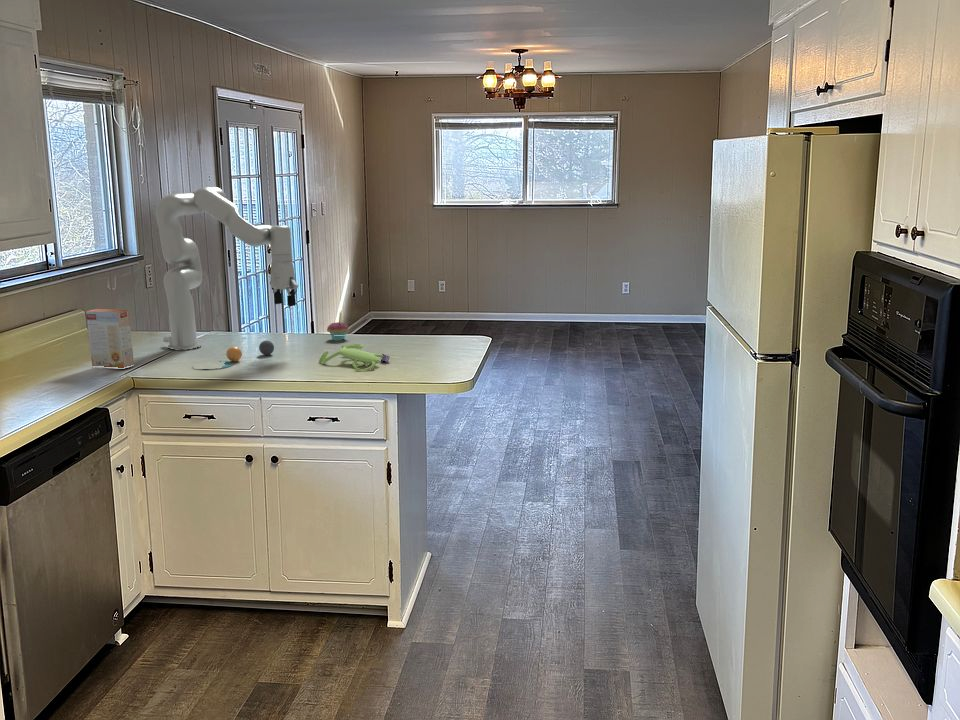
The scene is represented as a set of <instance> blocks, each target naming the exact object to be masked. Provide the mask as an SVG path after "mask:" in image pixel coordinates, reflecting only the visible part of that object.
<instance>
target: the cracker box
mask: <svg viewBox="0 0 960 720" xmlns="http://www.w3.org/2000/svg"><path fill="white" fill-rule="evenodd" d="M85 313H86V323H87V330H88V339H89V348H90V358H91V366H104V367H118V368H124V367H127V366H131V365H133V364H134V365H135V360H134V351H133V350H134V349H133V341H132V331H131V323H130V322H131V321H130V313H129V310H128V309H111V308H109V309H108V308H107V309H105V308H104V309H103V308H94V309H90V310H86V311H85Z"/></svg>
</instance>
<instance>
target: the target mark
mask: <svg viewBox="0 0 960 720" xmlns="http://www.w3.org/2000/svg"><path fill="white" fill-rule="evenodd" d="M222 361H223V362H225V363H224V364H225V365H223V366H222V368H223V369H227V368H229V367H232V366H234V363H233V361H230V360H229V361H228V360H222Z"/></svg>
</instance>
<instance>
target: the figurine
mask: <svg viewBox="0 0 960 720" xmlns="http://www.w3.org/2000/svg"><path fill="white" fill-rule="evenodd" d="M363 348H364V346H363V344H361V343H350V344H343V345H341V348H340V349H338V351H336V352H334V353H333V354H330V355H329V356H328V354H329V351H328V350H327V351H324V353H323V354H322V355H321V356H320V358H319V359H318V363H320V364H322V363H323V364H324V363H327V362H329V361H330V360H332V359H333V358H336V357H337V356H339V355H340V356H342V357H343V358H346V359H349V360H351V361H352V363H351V365H352V367H353V368H354V369H355V371H356V370H370V369H372V370H373V369H374V368H375V367H376V363H379V362H381V361H385V362H384V363H389V360H390V355H387V354H384V353H382V354H381V353H380V354H379V353H378V354H377V353H370V352H368V351H365V350H361V349H363ZM380 360H381V361H380ZM358 362H359V363H361V364H357V363H358ZM371 364H372V365H371ZM368 365H369V366H368ZM362 366H365V367H366V368H360V367H362ZM367 366H368V367H367ZM370 371H371V370H370Z"/></svg>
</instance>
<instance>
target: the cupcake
mask: <svg viewBox="0 0 960 720" xmlns="http://www.w3.org/2000/svg"><path fill="white" fill-rule="evenodd" d="M326 331H327V332H328V333H329V334H330V335H331V339H332V340H333V341H336V342H338V341H343V340H342V339H344V340H345V339H346V335H347V332H348V331H349V326H348V325H347V324H346V323H344V322H342V311H340V312H339V317H338V322H335V321H334V322H332V323H330V324H329V325H327V328H326ZM334 335H345V336H334Z"/></svg>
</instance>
